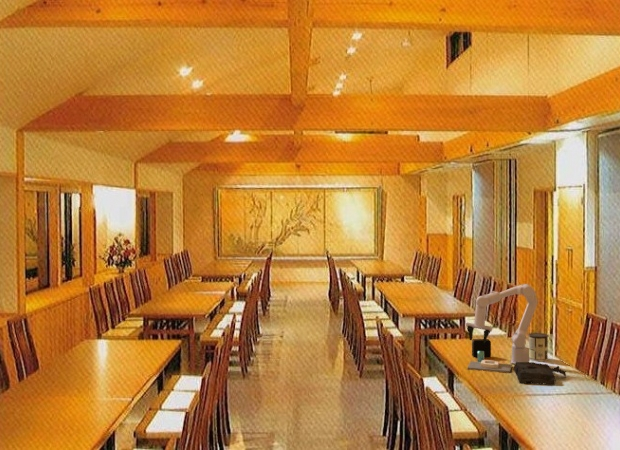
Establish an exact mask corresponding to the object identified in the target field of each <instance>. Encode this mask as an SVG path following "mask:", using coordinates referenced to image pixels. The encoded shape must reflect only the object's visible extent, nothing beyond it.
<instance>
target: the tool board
mask: <svg viewBox="0 0 620 450" xmlns="http://www.w3.org/2000/svg"><path fill="white" fill-rule="evenodd" d="M512 366H513V364H511V363H510V364H509V363H500V360H499V361H498V360H492V359H491V360H490V359H484V360H482V361H481V362H477V361H474V360H473V361H472V360H471V361H469V364H468V365H467V367H466V370H473V371H482V370H483V371H484V372H495V373H496V372H497V373H506V374H510V373H511V371H512Z"/></svg>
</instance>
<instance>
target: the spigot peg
mask: <svg viewBox="0 0 620 450" xmlns="http://www.w3.org/2000/svg"><path fill="white" fill-rule="evenodd" d="M476 359H477V361H476V362H481V361H482V360H485V358H484V351H478V356H477V358H476Z"/></svg>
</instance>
